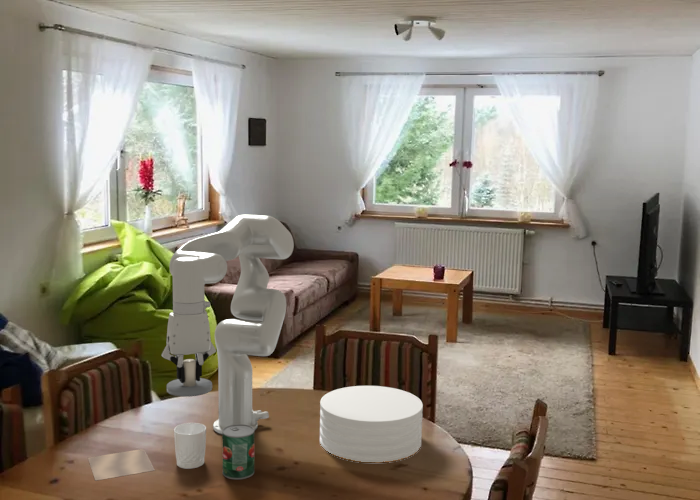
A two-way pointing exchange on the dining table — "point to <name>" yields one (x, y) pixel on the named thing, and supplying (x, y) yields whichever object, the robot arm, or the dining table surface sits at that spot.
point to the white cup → (190, 445)
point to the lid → (189, 382)
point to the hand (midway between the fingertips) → (189, 379)
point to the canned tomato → (238, 451)
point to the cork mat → (120, 464)
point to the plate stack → (370, 423)
